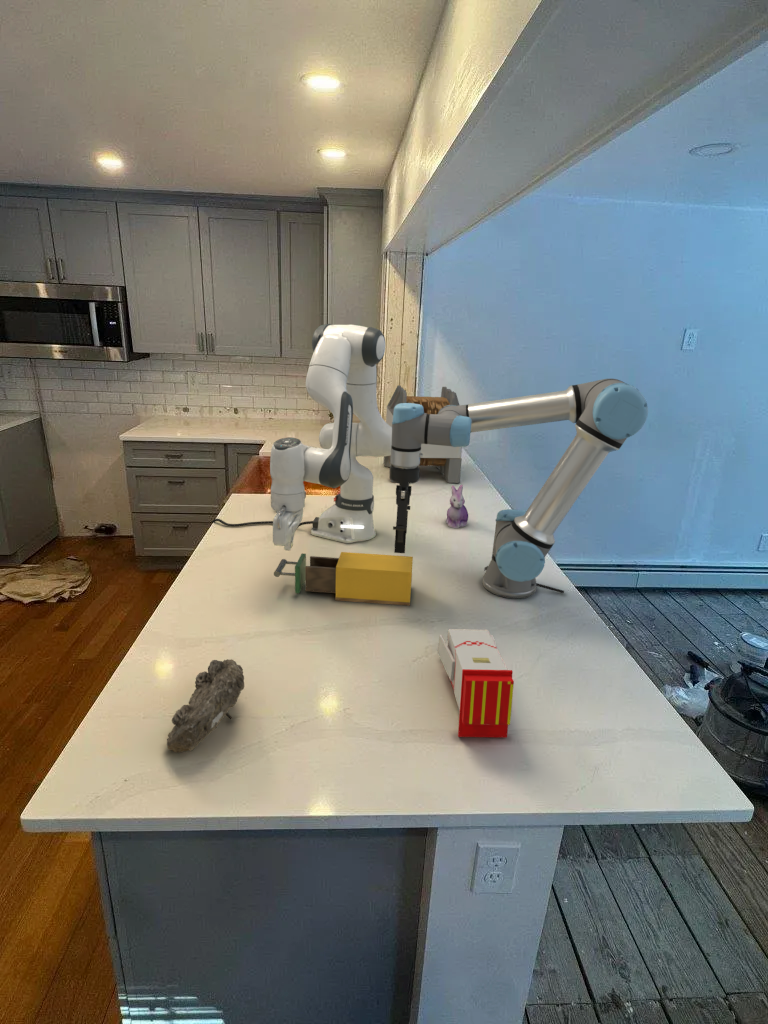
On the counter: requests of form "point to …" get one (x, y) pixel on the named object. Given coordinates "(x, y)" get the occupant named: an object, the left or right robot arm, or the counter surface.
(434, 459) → the transformer
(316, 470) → the left robot arm
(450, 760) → the counter surface
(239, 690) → the fossil
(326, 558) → the drawer
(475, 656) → the toy
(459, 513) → the figurine
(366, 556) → the cabinet
